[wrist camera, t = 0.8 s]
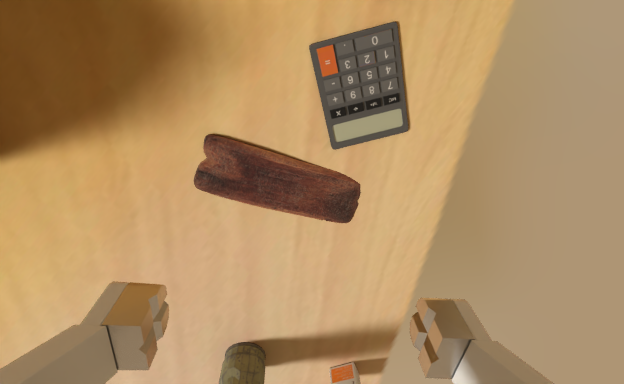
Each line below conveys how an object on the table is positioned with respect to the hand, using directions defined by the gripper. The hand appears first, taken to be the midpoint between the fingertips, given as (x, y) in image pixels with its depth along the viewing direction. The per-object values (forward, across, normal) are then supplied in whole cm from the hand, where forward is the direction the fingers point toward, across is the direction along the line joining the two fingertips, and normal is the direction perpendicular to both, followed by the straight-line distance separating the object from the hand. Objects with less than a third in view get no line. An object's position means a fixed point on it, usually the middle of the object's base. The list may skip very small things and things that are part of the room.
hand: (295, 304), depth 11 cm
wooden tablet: (+40, +1, +15) cm, 43 cm away
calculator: (+40, -9, 0) cm, 41 cm away
